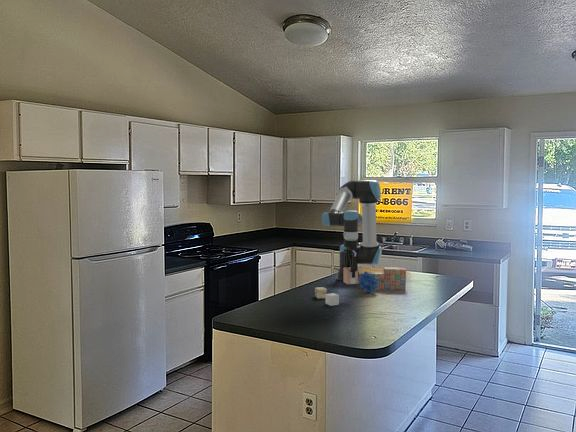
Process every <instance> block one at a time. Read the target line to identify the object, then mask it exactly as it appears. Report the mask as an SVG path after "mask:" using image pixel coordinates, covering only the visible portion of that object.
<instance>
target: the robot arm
mask: <svg viewBox="0 0 576 432" xmlns="http://www.w3.org/2000/svg"><path fill="white" fill-rule="evenodd" d="M381 193H382V191H381V186H380V183H379V181H378V180H372V179H361V180H360V179H359V180H355V179H353V180H350V181H347V182H345V183H344V184H343V185H342V186H341V185H340V187H339V188H338V190H337V192H336V197H335V199H334V202H333V203H332V206H331V208H330V210H329V211H326V212H322V214H321V223H322V225H323V226H325V227H326V226H327V227H343V233H342V235H343V244H341V245H340V246H339V269H338V271H337V273H336V280H337V281H341V282H343V267H351V271H350V284H349V285H355V278H356V271H357V269H358V279H359V278H360V274H361V273H360V271H359V268H358V265H371V266H374V265H375V266H376V265H379V263H380V262H381V258H382V251H383V248H382V246H380V243H379V242H378V241H377V205H376V204H378V203H379V200H380V199H381V195H382V194H381ZM351 200H358V202H359V204H360V205H361V213H360V212H359V211H358V210H352V209H351V210H345V209H346V208H347V205H348V203H349V202H350V201H351ZM361 225H362V226H361ZM360 226H361V229H362V242H361V243H360V245H359V240H358V239H359V227H360Z"/></svg>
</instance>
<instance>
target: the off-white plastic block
mask: <svg viewBox="0 0 576 432" xmlns="http://www.w3.org/2000/svg"><path fill="white" fill-rule="evenodd" d="M339 304H340V295H339V294H338V293H333V292H332V293H327V294H326V298H325V305H328V306H337V305H339Z"/></svg>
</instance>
